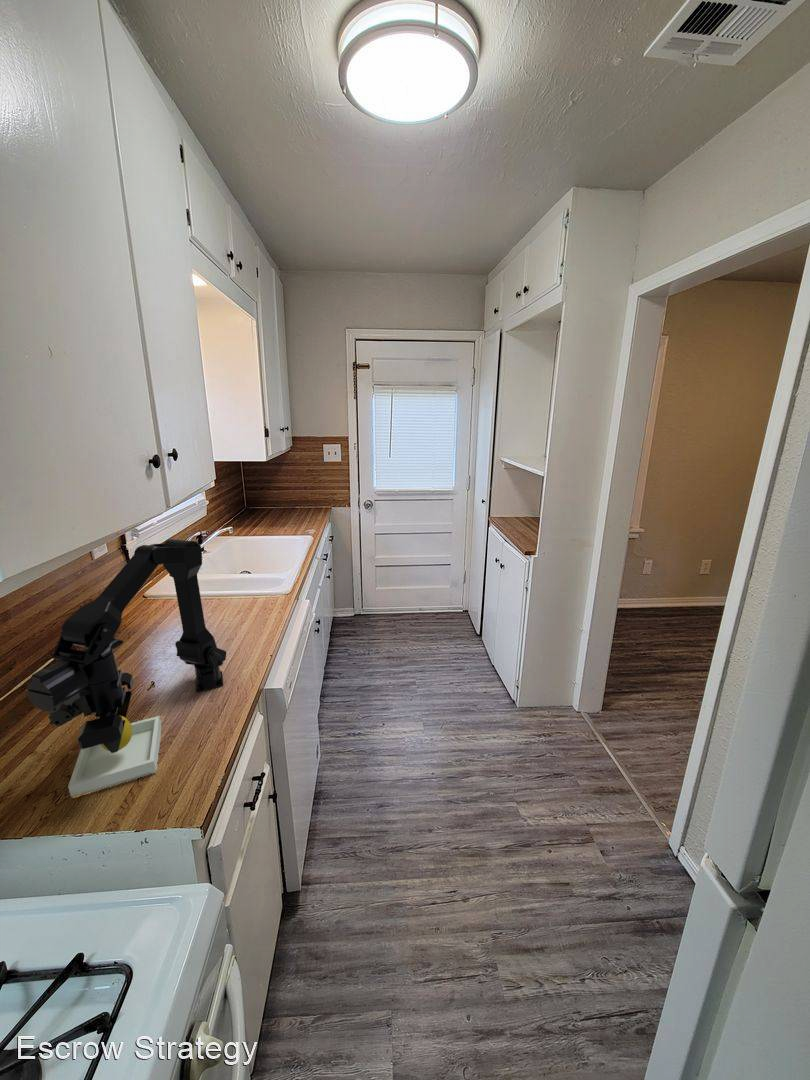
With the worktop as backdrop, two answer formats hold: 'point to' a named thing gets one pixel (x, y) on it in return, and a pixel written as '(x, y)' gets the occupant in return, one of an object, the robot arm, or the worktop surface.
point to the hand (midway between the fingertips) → (117, 741)
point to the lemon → (124, 735)
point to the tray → (118, 760)
